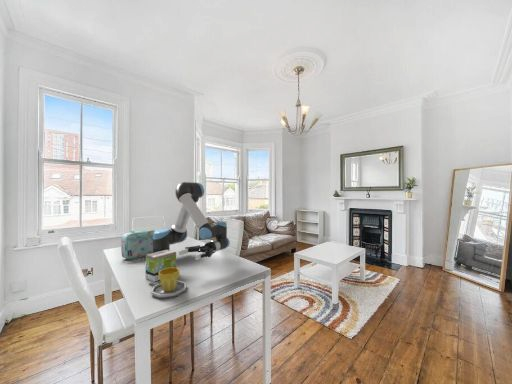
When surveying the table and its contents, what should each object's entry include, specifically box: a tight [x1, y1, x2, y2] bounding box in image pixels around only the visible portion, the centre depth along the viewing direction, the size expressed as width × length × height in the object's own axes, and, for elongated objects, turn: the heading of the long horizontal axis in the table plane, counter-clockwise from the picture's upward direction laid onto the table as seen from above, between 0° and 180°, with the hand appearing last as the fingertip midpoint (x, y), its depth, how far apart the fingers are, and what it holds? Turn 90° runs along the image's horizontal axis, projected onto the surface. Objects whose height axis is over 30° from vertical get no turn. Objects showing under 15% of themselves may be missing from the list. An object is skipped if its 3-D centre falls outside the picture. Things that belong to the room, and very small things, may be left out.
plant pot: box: [158, 267, 180, 292], centre depth 116 cm, size 10×10×10 cm
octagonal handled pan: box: [148, 280, 187, 300], centre depth 118 cm, size 25×17×2 cm
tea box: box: [144, 249, 177, 283], centre depth 136 cm, size 15×10×15 cm
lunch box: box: [120, 229, 156, 260], centre depth 176 cm, size 27×10×21 cm, turn 148°
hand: (187, 255), depth 126 cm, fingers open, 13 cm apart
